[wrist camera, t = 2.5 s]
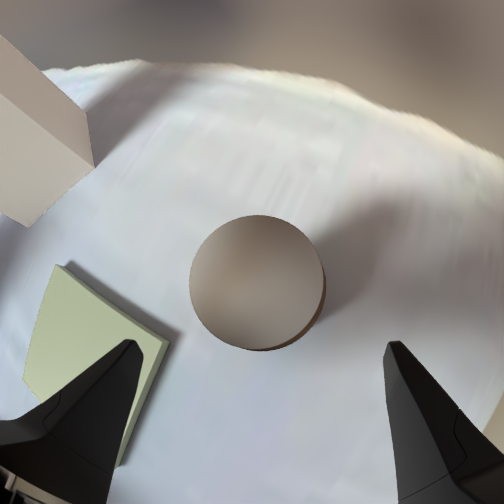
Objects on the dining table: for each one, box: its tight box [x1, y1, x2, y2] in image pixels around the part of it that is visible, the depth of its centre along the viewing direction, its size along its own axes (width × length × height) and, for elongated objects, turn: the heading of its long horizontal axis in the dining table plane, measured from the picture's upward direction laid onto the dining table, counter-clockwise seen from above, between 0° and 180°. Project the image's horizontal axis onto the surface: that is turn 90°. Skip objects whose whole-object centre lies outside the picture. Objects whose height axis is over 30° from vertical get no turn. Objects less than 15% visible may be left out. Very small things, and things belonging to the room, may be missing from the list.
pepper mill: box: [189, 215, 326, 351], centre depth 14 cm, size 5×5×10 cm
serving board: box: [22, 264, 170, 469], centre depth 20 cm, size 14×14×1 cm
